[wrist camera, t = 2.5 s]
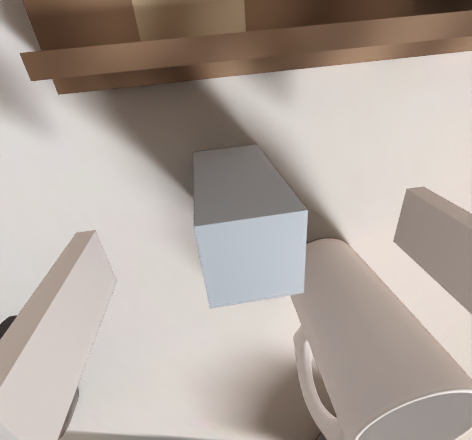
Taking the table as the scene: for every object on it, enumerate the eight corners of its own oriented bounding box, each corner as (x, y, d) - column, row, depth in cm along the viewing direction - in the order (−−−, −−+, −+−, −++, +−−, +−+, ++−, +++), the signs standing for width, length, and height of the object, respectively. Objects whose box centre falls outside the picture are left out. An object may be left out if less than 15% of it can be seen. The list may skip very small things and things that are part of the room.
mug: (310, 222, 21) (424, 379, 11) (373, 249, 23) (519, 400, 13) (248, 311, 25) (287, 489, 14) (307, 327, 27) (378, 490, 17)
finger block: (202, 208, 19) (210, 308, 11) (193, 152, 17) (193, 226, 9) (260, 200, 19) (304, 292, 12) (257, 144, 17) (309, 209, 10)
